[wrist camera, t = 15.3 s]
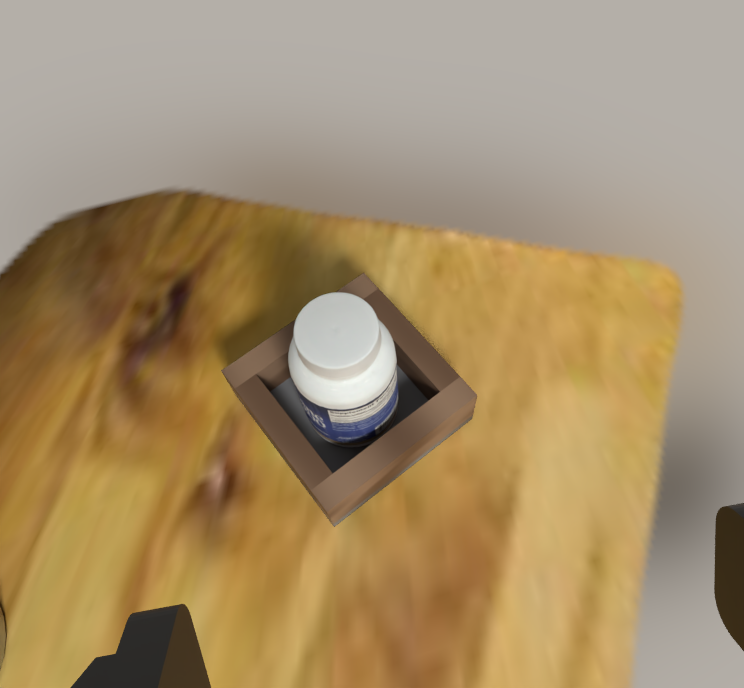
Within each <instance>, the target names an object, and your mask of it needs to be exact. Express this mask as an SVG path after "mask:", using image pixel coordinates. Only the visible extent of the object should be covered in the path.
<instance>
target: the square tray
mask: <svg viewBox="0 0 744 688" xmlns="http://www.w3.org/2000/svg"><path fill="white" fill-rule="evenodd" d="M336 292H343V293H349V294H353V295H355V296H358V297H360V298H362V299H363V300H364V301H366V302H367V303H368V304H369V305H370V306H371V307H372V308H373V310H374V312H375V313H376V316H377V318H378V319H379V320H380V321H381V322H382V323H383V324H384V325H385V327H386V328H387V329H388V331H389V333H390V335H391V337H392V339H393V342H394V346H395V351H396V358H397V382H398V409H397V414H396V417H395V420H394V422H393V424H392V425H391V427H390V428H389V429H388V431H387V432H386V433H385V434H384V435H383V436H382V437H380V438H379V439H378V440H376V441H374V442H372V443H370V444H368V445H365V446H360V447H353V448H352V447H342V446H338V445H334V444H332V443H330V442H328V441H326V440H325V439H323V438H322V437H321V436H320V435H319V434H318V433H317V432H316V431H315V429H314V428H313V426H312V425H311V423H310V421H309V419H308V417H307V414H306V412H305V410H304V407H303V405H302V402H301V400H300V398H299V395H298V392H297V390H296V388H295V385H294V383H293V380H292V378H291V375H290V370H289V364H288V352H289V347H290V344H291V341H292V339H293V336H294V334H293V332H294V324H295V321H296V320H294V321H293V322H291V323H290V324H288V325H287V326H285V327H284V328H283V329H281V330H280V331H278V332H277V333H275V334H274V335H272V336H271V337H269V338H268V339H267V340H265V341H264V342H262V343H261V344H259V345H258V346H256V347H255V348H253V349H252V350H251V351H249V352H248V353H246V354H245V355H243V356H242V357H240V358H239V359H237V360H236V361H234V362H233V363H232V364H230V365H229V366H227V367H226V368H224V369H223V370H221V371H222V373H223V374H224V376H225V378H226V379H227V381H228V383H229V384H230V386H231V388H232V389H233V391H234V393H235V394H236V396H237V397H238V398H239V400H240V401H241V402H242V404H243V405H244V407H245V408H246V409H247V411H248V412H249V413H250V415H251V416H252V417H253V419H254V420H255V421H256V423H257V424H258V425H259V427H260V428H261V429H262V431H263V432H264V433H265V435H266V436H267V437H268V439H269V440H270V441H271V443H272V444H273V445H274V447H275V448H276V449H277V451H278V452H279V453H280V455H281V456H282V457H283V459H284V460H285V462H286V463H287V464H288V466H289V467H290V468H291V470H292V471H293V472H294V474H295V475H296V476H297V478H298V479H299V480H300V482H301V483H302V484H303V486H304V487H305V488H306V490H307V491H308V492H309V494H310V495H311V496H312V498H313V499H314V500H315V502H316V503H317V504H318V506H319V507H320V508H321V510H322V511H323V512H324V514H325V515H326V517H327V518H328V519H329V521H330V522H331V523H332V525H333V526H334V527H335V526H336V525H337V524H339V523H340V522H341V521H342V520H344V519H345V518H346V517H347V516H349V515H350V514H351V513H353V512H354V511H355V510H356V509H358V508H359V507H360V506H361V505H363V504H364V503H365V502H367V501H368V500H369V499H370V498H372V497H373V496H374V495H375V494H377V493H378V492H379V491H381V490H382V489H383V488H384V487H386V486H387V485H388V484H389V483H391V482H392V481H393V480H395V479H396V478H397V477H398V476H400V475H401V474H402V473H404V472H405V471H406V470H407V469H409V468H410V467H411V466H412V465H414V464H415V463H416V462H418V461H419V460H420V459H421V458H423V457H424V456H425V455H426V454H428V453H429V452H430V451H432V450H433V449H434V448H435V447H437V446H438V445H439V444H440V443H442V442H443V441H444V440H446V439H447V438H448V437H449V436H451V435H452V434H453V433H454V432H456V431H457V430H458V429H460V428H461V427H462V426H463V425H465V424H466V423H467V422H468V421H470V420H471V419H472V417H473V413H474V408H475V404H476V399H477V394H476V393H475V392H474V391H473V390H472V389H471V388H470V387H469V386H468V385H467V384H466V382H465V381H464V380H463V379H462V378H461V377H460V376H459V375H458V374H457V373H456V372H455V371H454V370H453V368H452V367H451V366H450V365H449V364H448V363H447V362H446V361H445V360H444V359H443V358H442V357H441V356H440V354H439V353H438V352H437V351H436V350H435V349H434V348H433V347H432V346H431V345H430V344H429V343H428V342H427V340H426V339H425V338H424V337H423V336H422V335H421V334H420V333H419V332H418V331H417V330H416V329H415V327H414V326H413V325H412V324H411V323H410V322H409V321H408V320H407V319H406V318H405V317H404V316H403V315H402V313H401V312H400V311H399V310H398V309H397V308H396V307H395V306H394V305H393V304H392V303H391V302H390V301H389V299H388V298H387V297H386V296H385V295H384V294H383V293H382V292H381V291H380V290H379V289H378V288H377V287H376V285H375V284H374V283H373V282H372V281H371V280H370V279H369V278H368V277H367V276H366V275H365V274H364V273H363V274H361V275H360V276H358V277H357V278H355V279H354V280H352V281H351V282H350V283H348V284H347V285H345V286H344V287H342V288H341V289H339V290H338V291H336Z"/></svg>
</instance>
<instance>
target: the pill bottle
mask: <svg viewBox="0 0 744 688" xmlns="http://www.w3.org/2000/svg"><path fill="white" fill-rule="evenodd" d="M293 334H294V336H293V339H292V341H291V344H290V347H289V352H288V364H289V370H290V375H291V378H292V380H293V383H294V385H295V388H296V390H297V392H298V395H299V398H300V400H301V402H302V405H303V407H304V410H305V412H306V414H307V417H308V419H309V421H310V423H311V425H312V426H313V428H314V429H315V431H316V432H317V433H318V434H319V435H320V436H321V437H322V438H323V439H325V440H326V441H328V442H330V443H332V444H334V445H338V446H342V447H352V448H353V447H360V446H365V445H368V444H370V443H372V442H374V441H376V440H378V439H379V438H380V437H382V436H383V435H384V434H385V433H386V432H387V431H388V429H389V428H390V427H391V425H392V424H393V422H394V420H395V417H396V414H397V409H398V382H397V358H396V351H395V346H394V342H393V339H392V337H391V335H390V333H389V331H388V329H387V328H386V327H385V325H384V324H383V323H382V322H381V321H380V320H379V319H378V318H377V316H376V313H375V312H374V310H373V308H372V307H371V306H370V305H369V304H368V303H367V302H366V301H364V300H363V299H362V298H360V297H358V296H355V295H353V294H349V293H343V292H334V293H328V294H324V295H321V296H319V297H317V298H315V299H313V300H312V301H310V302H309V303H308V304H307V305H305V306H304V307H303V309H302V310H301V311H300V313H299V314H298V316H297V318H296V321H295V324H294V332H293Z"/></svg>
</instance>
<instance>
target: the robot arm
mask: <svg viewBox="0 0 744 688" xmlns="http://www.w3.org/2000/svg"><path fill="white" fill-rule="evenodd" d="M714 589H715V599H716V604H717V608H718V611H719V614H720V616H721V619H722V621H723V623H724V625H725V627H726V629H727V630H728V632H729V633H730V635H731V636H732V637H733V639H734V640H735V641H736V642H737V643H738V645H739V646H740V647H741V648H742V650H743V651H744V503H741V504H736V505H731V506H725V507H722V508H720V510H719V511H718V513H717V516H716V535H715V588H714ZM5 641H6V632H5V622H4V616H3V613H2V610H1V607H0V669H1V665H2V661H3V658H4V651H5ZM71 688H211V686H210V682H209V678H208V675H207V671H206V668H205V664H204V661H203V657H202V654H201V650H200V647H199V643H198V640H197V636H196V633H195V629H194V626H193V622H192V619H191V615H190V612H189V610H188V608H187V607H186V605H184V604H180V605H175V606H169V607H164V608H158V609H153V610H147V611H142V612H136V613H132V614H131V615H130V617H129V618H128V620H127V623H126V626H125V629H124V632H123V634H122V637H121V640H120V643H119V646H118V649H117V652H116V654H113V655H107V656H102V657H97V658H95V659H94V660H93V662H92V663H91V664H90V665H89V666H88V668H87V669H86V670H85V671H84V672H83V674H82V675H81V676H80V677H79V678H78V679H77V681H76V682H75V683H74V684H73V685H72V687H71Z"/></svg>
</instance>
